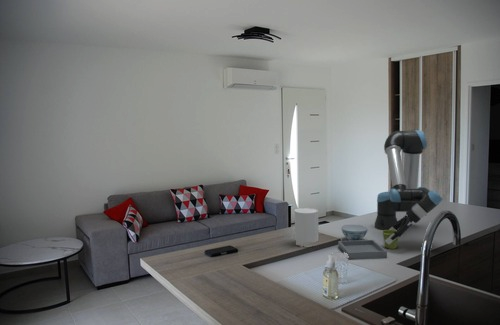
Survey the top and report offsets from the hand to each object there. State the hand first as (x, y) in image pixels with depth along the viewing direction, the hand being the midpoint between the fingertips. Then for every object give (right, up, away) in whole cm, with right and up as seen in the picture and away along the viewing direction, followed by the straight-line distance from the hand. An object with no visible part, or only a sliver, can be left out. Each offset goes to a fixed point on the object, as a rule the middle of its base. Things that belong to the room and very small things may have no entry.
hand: (386, 239), depth 215 cm
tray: (-16, -6, -7) cm, 18 cm away
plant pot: (+3, -5, 0) cm, 5 cm away
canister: (-43, -5, +10) cm, 44 cm away
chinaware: (-14, -4, +14) cm, 20 cm away
